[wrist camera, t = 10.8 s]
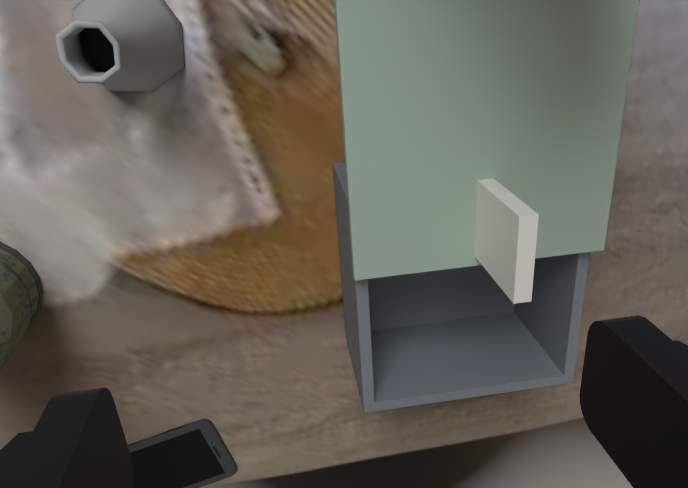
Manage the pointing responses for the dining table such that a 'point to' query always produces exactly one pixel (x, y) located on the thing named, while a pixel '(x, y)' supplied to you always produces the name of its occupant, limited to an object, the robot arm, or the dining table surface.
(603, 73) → the lid
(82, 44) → the flask
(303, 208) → the dining table surface
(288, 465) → the dining table surface
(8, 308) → the thermos
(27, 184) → the dining table surface
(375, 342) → the carton
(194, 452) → the cell phone
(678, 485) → the robot arm
